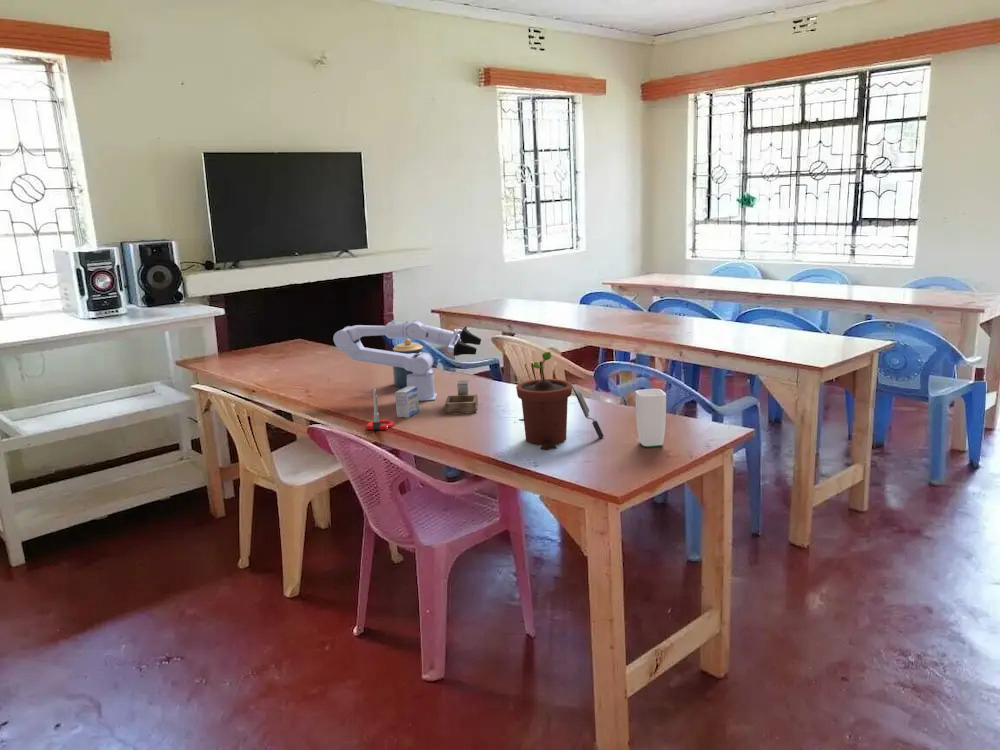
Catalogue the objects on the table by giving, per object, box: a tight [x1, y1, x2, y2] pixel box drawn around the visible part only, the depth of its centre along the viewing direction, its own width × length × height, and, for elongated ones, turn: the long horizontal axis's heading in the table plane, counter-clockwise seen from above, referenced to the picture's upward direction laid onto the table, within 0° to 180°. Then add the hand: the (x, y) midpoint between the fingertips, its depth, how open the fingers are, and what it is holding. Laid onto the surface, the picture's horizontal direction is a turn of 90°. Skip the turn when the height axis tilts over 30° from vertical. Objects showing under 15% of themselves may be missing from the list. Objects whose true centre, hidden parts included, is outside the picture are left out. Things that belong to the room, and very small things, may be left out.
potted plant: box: [515, 351, 605, 451], centre depth 221 cm, size 18×22×25 cm
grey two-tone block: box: [456, 379, 470, 395], centre depth 268 cm, size 4×5×7 cm
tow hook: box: [365, 388, 396, 431], centre depth 245 cm, size 8×13×9 cm
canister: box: [392, 338, 426, 388], centre depth 296 cm, size 13×13×18 cm
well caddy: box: [444, 394, 479, 415], centre depth 260 cm, size 10×10×4 cm
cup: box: [635, 388, 667, 448], centre depth 214 cm, size 7×7×15 cm
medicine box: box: [394, 386, 420, 419], centre depth 256 cm, size 8×4×9 cm, turn 160°
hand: (478, 346), depth 270 cm, fingers open, 7 cm apart
